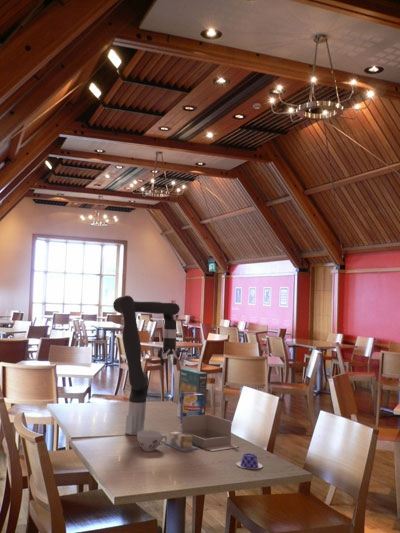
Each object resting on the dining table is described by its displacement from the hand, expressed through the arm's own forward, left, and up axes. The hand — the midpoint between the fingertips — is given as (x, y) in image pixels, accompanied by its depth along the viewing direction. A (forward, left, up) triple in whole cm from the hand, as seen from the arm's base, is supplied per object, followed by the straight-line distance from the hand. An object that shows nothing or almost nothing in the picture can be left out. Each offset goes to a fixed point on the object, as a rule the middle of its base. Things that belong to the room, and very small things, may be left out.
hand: (168, 365), depth 325 cm
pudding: (-7, -79, -36) cm, 87 cm away
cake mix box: (+27, +11, -36) cm, 46 cm away
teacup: (-33, -37, -36) cm, 61 cm away
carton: (+1, -40, -35) cm, 54 cm away
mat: (-16, -37, -36) cm, 54 cm away
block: (-16, -37, -35) cm, 54 cm away
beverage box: (+5, -18, -36) cm, 40 cm away
